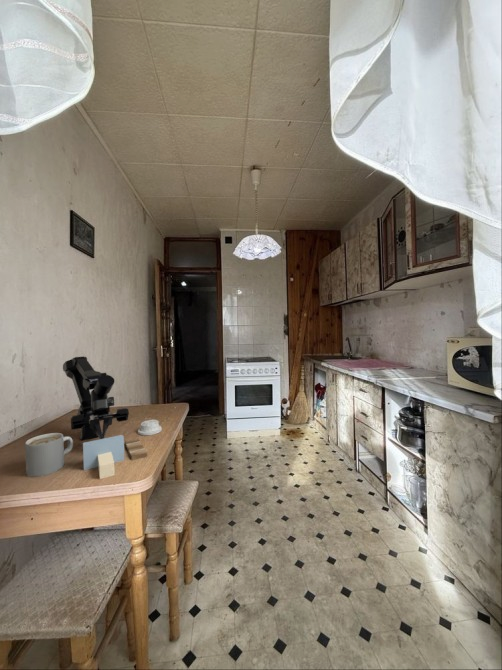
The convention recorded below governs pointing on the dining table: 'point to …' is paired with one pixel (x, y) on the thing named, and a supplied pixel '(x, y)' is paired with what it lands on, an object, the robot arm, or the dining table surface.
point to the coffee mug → (46, 454)
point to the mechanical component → (149, 427)
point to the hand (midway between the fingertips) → (102, 439)
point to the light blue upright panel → (103, 454)
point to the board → (135, 449)
